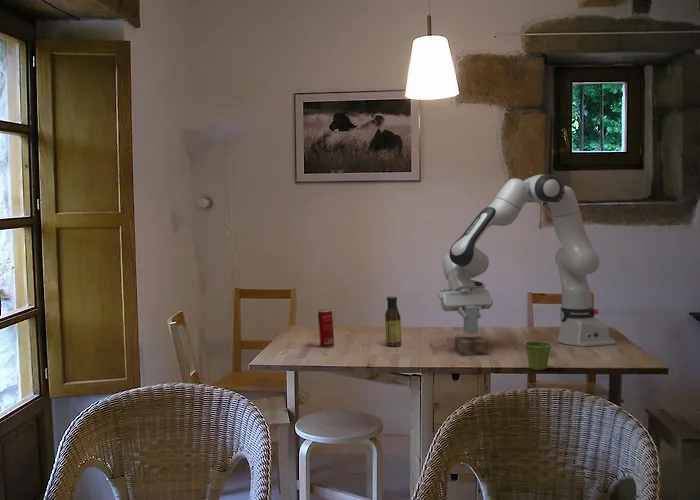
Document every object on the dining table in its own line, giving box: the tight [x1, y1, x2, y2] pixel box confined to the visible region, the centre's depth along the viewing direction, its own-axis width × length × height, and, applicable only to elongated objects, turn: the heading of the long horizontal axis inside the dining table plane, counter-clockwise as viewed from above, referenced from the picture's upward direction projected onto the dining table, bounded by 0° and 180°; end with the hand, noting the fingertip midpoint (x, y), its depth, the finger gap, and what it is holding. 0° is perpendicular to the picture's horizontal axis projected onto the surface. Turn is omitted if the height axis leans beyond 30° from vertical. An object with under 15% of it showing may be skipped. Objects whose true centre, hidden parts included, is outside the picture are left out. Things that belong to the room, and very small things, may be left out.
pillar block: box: [463, 306, 479, 335], centre depth 279 cm, size 4×4×10 cm
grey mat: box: [452, 349, 492, 358], centre depth 281 cm, size 12×12×1 cm
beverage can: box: [317, 308, 335, 349], centre depth 296 cm, size 6×6×15 cm
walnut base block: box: [454, 336, 489, 357], centre depth 280 cm, size 10×10×5 cm
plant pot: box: [524, 340, 553, 371], centre depth 256 cm, size 9×9×9 cm
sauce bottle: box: [384, 295, 402, 348], centre depth 296 cm, size 7×6×20 cm
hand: (472, 317), depth 278 cm, fingers closed on pillar block, 4 cm apart
